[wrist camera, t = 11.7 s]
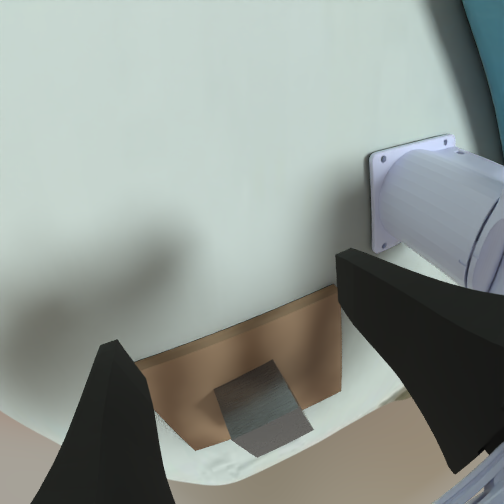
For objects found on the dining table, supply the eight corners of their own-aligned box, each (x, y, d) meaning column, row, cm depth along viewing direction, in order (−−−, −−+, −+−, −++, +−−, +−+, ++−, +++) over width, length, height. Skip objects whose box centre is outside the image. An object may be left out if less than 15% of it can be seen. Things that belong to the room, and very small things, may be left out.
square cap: (272, 359, 24) (299, 407, 20) (290, 387, 27) (313, 429, 23) (213, 389, 24) (231, 440, 20) (238, 413, 27) (256, 457, 23)
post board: (333, 283, 24) (366, 319, 20) (336, 384, 32) (357, 414, 28) (123, 365, 21) (128, 415, 17) (193, 443, 29) (203, 478, 26)
